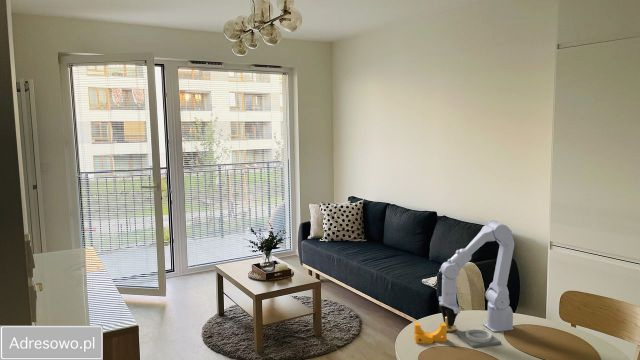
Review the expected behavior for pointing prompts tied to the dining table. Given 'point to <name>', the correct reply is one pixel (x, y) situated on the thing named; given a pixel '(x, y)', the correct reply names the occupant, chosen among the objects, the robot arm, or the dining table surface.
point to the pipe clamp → (430, 334)
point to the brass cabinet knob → (449, 328)
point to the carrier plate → (478, 337)
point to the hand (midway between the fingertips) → (448, 323)
